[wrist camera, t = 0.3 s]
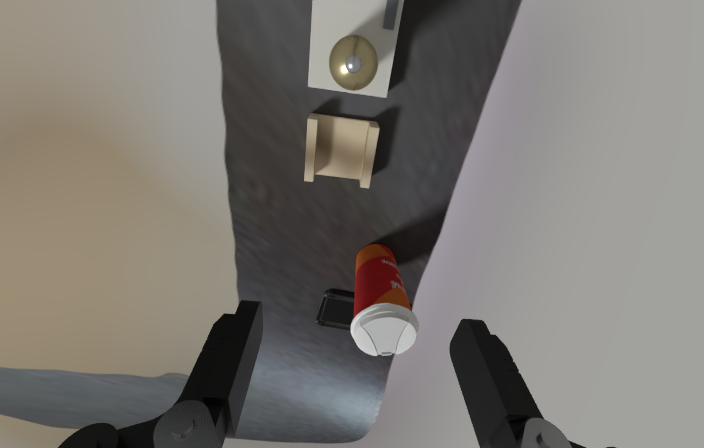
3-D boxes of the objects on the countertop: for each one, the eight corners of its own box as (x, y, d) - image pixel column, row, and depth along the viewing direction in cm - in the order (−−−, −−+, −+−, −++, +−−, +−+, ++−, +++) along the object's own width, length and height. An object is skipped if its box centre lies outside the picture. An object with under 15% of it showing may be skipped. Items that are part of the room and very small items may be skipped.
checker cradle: (321, -109, 25) (318, -125, 22) (416, -90, 25) (423, -104, 23) (310, 83, 32) (307, 86, 30) (383, 94, 33) (386, 98, 30)
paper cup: (401, 275, 46) (420, 357, 34) (351, 280, 47) (354, 362, 35) (400, 234, 42) (421, 309, 30) (346, 239, 43) (347, 315, 31)
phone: (325, 291, 47) (413, 309, 49) (325, 286, 48) (411, 304, 50) (314, 324, 51) (396, 339, 53) (314, 319, 52) (395, 334, 54)
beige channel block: (310, 112, 34) (307, 118, 31) (377, 121, 34) (379, 128, 32) (307, 171, 37) (304, 180, 35) (367, 178, 38) (368, 188, 35)
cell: (334, 33, 28) (331, 30, 20) (373, 39, 28) (382, 39, 21) (331, 76, 29) (326, 87, 22) (367, 81, 30) (373, 94, 23)
